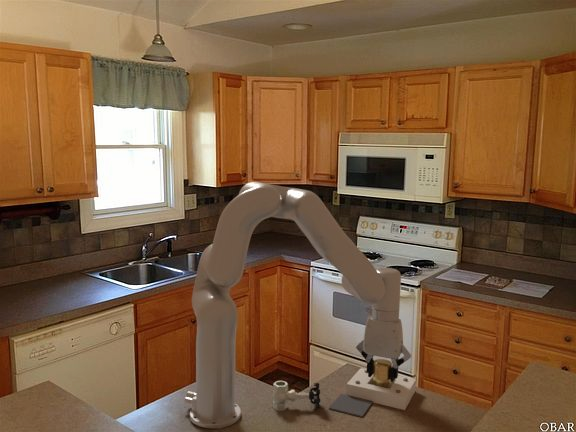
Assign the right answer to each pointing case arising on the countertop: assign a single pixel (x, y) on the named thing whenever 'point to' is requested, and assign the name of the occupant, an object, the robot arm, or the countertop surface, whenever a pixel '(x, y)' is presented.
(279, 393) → the valve
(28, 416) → the countertop surface
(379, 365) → the brass domed cylinder
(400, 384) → the plate
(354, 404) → the mat
